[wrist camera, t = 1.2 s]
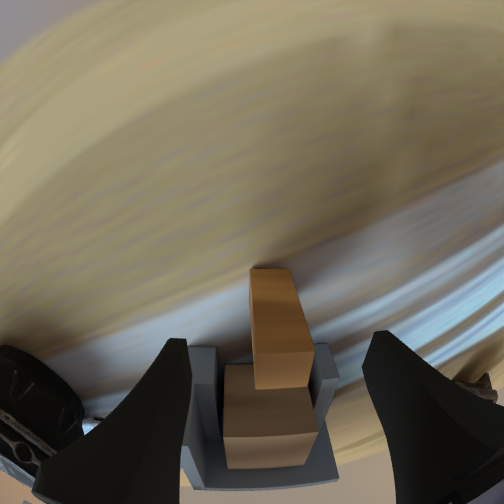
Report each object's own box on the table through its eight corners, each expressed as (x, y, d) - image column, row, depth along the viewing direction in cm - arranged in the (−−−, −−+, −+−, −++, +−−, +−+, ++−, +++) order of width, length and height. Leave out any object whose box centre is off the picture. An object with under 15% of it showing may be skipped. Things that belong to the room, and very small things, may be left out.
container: (-28, 321, 16) (-79, 390, 7) (74, 361, 18) (27, 468, 9) (14, 402, 21) (-14, 463, 12) (104, 437, 23) (86, 513, 14)
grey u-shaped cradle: (319, 408, 21) (336, 481, 14) (199, 412, 20) (194, 489, 14) (339, 342, 17) (373, 431, 11) (186, 346, 17) (171, 445, 11)
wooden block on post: (293, 404, 20) (304, 471, 15) (228, 406, 20) (227, 475, 14) (317, 268, 15) (355, 347, 9) (220, 269, 15) (211, 354, 9)
